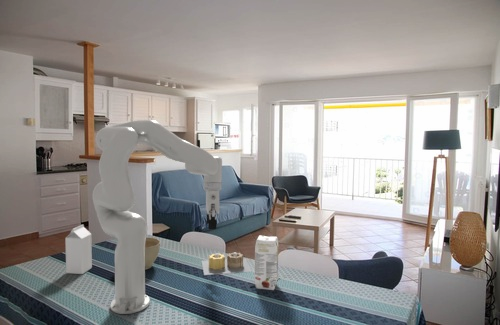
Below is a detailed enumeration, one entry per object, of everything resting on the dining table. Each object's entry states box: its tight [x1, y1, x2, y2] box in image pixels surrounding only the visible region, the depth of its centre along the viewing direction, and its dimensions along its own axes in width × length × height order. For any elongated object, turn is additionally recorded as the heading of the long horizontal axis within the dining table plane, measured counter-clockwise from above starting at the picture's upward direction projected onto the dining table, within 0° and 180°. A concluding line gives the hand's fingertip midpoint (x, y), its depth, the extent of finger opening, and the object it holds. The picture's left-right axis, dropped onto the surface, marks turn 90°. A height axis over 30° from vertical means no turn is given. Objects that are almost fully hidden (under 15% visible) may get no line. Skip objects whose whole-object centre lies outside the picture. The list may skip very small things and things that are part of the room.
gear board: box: [201, 252, 253, 276], centre depth 146 cm, size 16×20×7 cm
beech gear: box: [226, 252, 244, 268], centre depth 147 cm, size 7×7×4 cm
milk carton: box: [64, 224, 93, 275], centre depth 141 cm, size 7×7×19 cm
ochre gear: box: [208, 253, 226, 270], centre depth 145 cm, size 7×7×4 cm
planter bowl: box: [145, 236, 161, 271], centre depth 147 cm, size 16×16×11 cm
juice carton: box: [254, 234, 279, 291], centre depth 129 cm, size 8×9×19 cm
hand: (211, 226), depth 142 cm, fingers open, 9 cm apart
